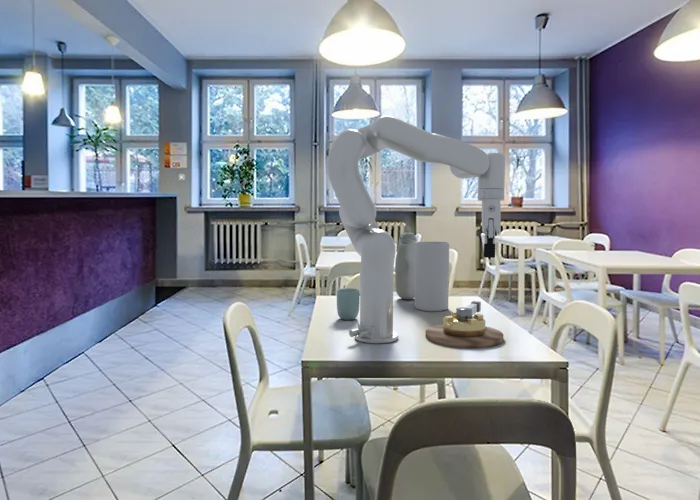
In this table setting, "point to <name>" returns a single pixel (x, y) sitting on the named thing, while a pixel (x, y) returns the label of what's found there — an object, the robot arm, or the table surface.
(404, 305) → the table surface
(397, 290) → the glass bottle
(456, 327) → the grey lever
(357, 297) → the cup
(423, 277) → the cylinder vase
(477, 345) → the lever base
